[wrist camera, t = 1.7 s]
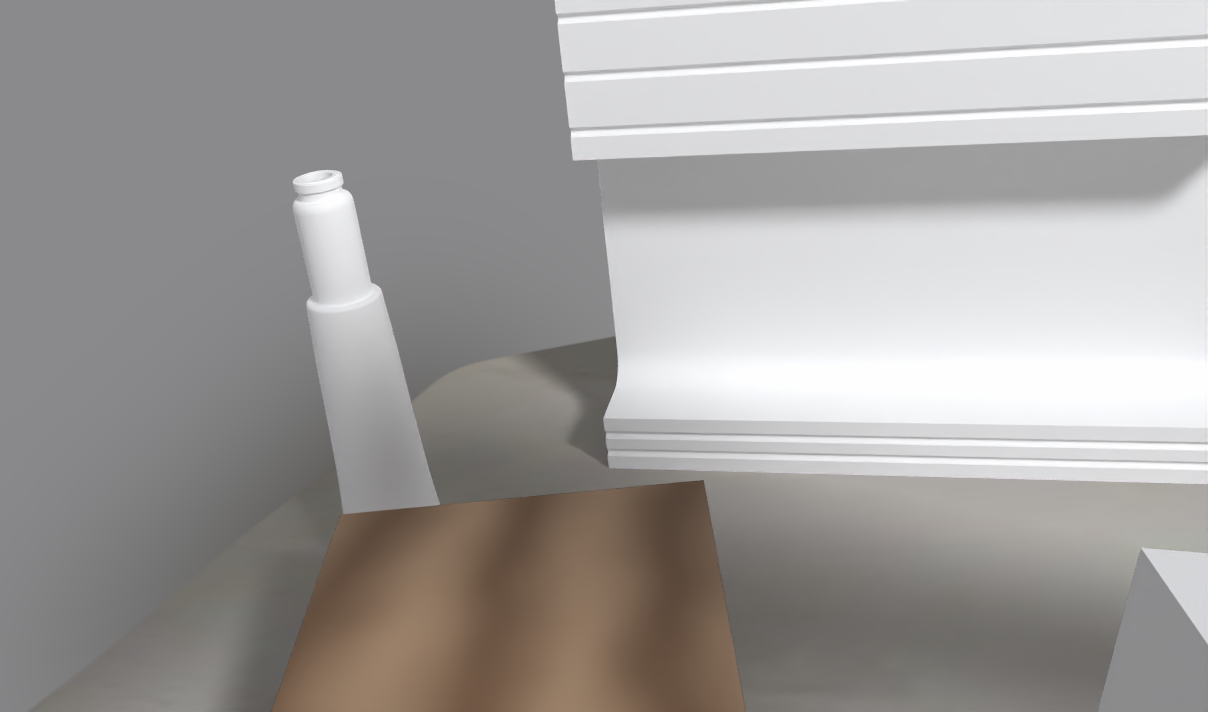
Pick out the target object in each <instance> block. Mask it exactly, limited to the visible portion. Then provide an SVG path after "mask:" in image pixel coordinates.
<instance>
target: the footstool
mask: <svg viewBox="0 0 1208 712" xmlns="http://www.w3.org/2000/svg"><path fill="white" fill-rule="evenodd" d="M271 712H746V711H745V706H744V700H743V695H742V689H741V684H740V678H739V673H738V667H737V662H736V656H735V651H734V645H733V640H732V634H731V629H730V623H729V618H728V612H727V607H726V601H725V596H724V590H723V585H722V579H721V574H720V568H719V563H718V557H717V552H716V546H715V541H714V535H713V530H712V524H711V519H710V513H709V508H708V502H707V497H706V491H705V486H704V480H701V481H690V482H679V483H669V484H658V485H648V486H637V487H626V488H616V489H605V490H594V491H584V492H573V493H563V494H552V495H541V496H531V497H520V498H509V499H499V500H488V501H477V502H467V503H456V504H446V505H435V506H424V507H414V508H403V509H392V510H382V511H371V512H360V513H350V514H341V515H340V518H339V520H338V523H337V526H336V529H335V532H334V535H333V538H332V540H331V543H330V546H329V549H328V552H327V555H326V557H325V560H324V563H323V566H322V569H321V572H320V575H319V577H318V580H317V583H316V586H315V589H314V592H313V594H312V597H311V600H310V603H309V606H308V609H307V612H306V614H305V617H304V620H303V623H302V626H301V629H300V631H299V634H298V637H297V640H296V643H295V646H294V649H293V651H292V654H291V657H290V660H289V663H288V666H287V668H286V671H285V674H284V677H283V680H282V683H281V685H280V688H279V691H278V694H277V697H276V700H275V703H274V705H273V708H272V711H271Z"/></svg>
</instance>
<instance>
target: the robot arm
mask: <svg viewBox="0 0 1208 712" xmlns="http://www.w3.org/2000/svg"><path fill="white" fill-rule="evenodd" d="M1097 712H1208V554H1207V553H1196V552H1184V551H1172V550H1161V549H1149V548H1141V550H1140V553H1139V557H1138V561H1137V565H1136V569H1135V572H1134V576H1133V580H1132V584H1131V587H1130V591H1129V595H1128V599H1127V602H1126V606H1125V610H1124V614H1123V617H1122V621H1121V625H1120V629H1119V632H1118V636H1117V640H1116V644H1115V648H1114V651H1113V655H1112V659H1111V663H1110V666H1109V670H1108V674H1107V678H1106V681H1105V685H1104V689H1103V693H1102V696H1101V700H1100V704H1099V708H1098V711H1097Z"/></svg>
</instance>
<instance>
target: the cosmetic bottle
mask: <svg viewBox="0 0 1208 712" xmlns="http://www.w3.org/2000/svg"><path fill="white" fill-rule="evenodd" d="M342 184H343V177H342V173H341V172H339V171H335V170H321V171H315V172H310V173H307V174H304V175H301V176H299V177H297V178H295V179H294V180H293V187H294V191H295V192H297V193H298V196H299V197H298V198H296V199H295V201H294V202H293V214H294V218H295V222H296V226H297V230H298V234H299V239H300V243H301V247H302V251H303V256H304V260H305V264H306V268H307V272H308V277H309V281H310V285H311V290H312V293H313V295H312V296H310V298H309V299H308V300H307V303H306V307H307V314H308V319H309V325H310V331H311V337H312V343H313V348H314V354H315V359H316V365H317V370H318V375H319V381H320V385H321V391H322V396H323V401H324V406H325V412H326V416H327V422H328V427H329V432H330V438H331V443H332V448H333V454H334V459H335V465H336V471H337V477H338V483H339V489H340V495H341V502H342V509H343V514H350V513H360V512H371V511H382V510H392V509H403V508H414V507H424V506H435V505H440V502H439V499H438V496H437V493H436V490H435V487H434V484H433V481H432V477H431V474H430V471H429V467H428V464H427V460H426V457H425V453H424V450H423V446H422V442H421V438H420V435H419V431H418V427H417V423H416V419H415V416H414V412H413V408H412V404H411V400H410V396H409V392H408V388H407V384H406V380H405V376H404V372H403V369H402V364H401V361H400V357H399V353H398V349H397V345H396V342H395V338H394V334H393V330H392V326H391V323H390V319H389V316H388V312H387V308H386V305H385V301H384V298H383V295H382V291H381V289H380V287H378V286H377V285H375V284H373V283H371V281H370V276H369V271H368V266H367V261H366V257H365V252H364V247H363V242H362V238H361V233H360V228H359V223H358V219H357V214H356V209H355V205H354V200H353V198H352V195H351V194H350V193H349V192H348V191H347V190H345V189H342Z"/></svg>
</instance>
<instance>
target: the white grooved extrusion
mask: <svg viewBox="0 0 1208 712" xmlns="http://www.w3.org/2000/svg"><path fill="white" fill-rule="evenodd" d="M555 7H556V14H557V15H558V33H559V42H560V51H561V59H562V67H563V72H564V74H565V82H564V84H565V93H566V102H567V111H568V120H569V127H570V128H571V145H572V154H573V160H593V159H597V164H598V174H599V182H600V192H601V202H602V211H603V220H604V230H605V239H606V249H607V258H608V267H609V277H610V287H611V296H612V306H613V315H614V324H615V334H616V343H617V353H618V376H617V383H616V388H615V391H614V393H613V395H612V398H611V400H610V403H609V405H608V408H607V410H606V413H605V415H604V418H603V421H604V430H605V431H606V447H607V449H608V464H609V468H624V469H661V470H699V471H737V472H775V473H813V474H850V475H888V476H926V477H964V478H1001V479H1039V480H1077V481H1115V482H1152V483H1190V484H1208V0H555Z"/></svg>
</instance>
